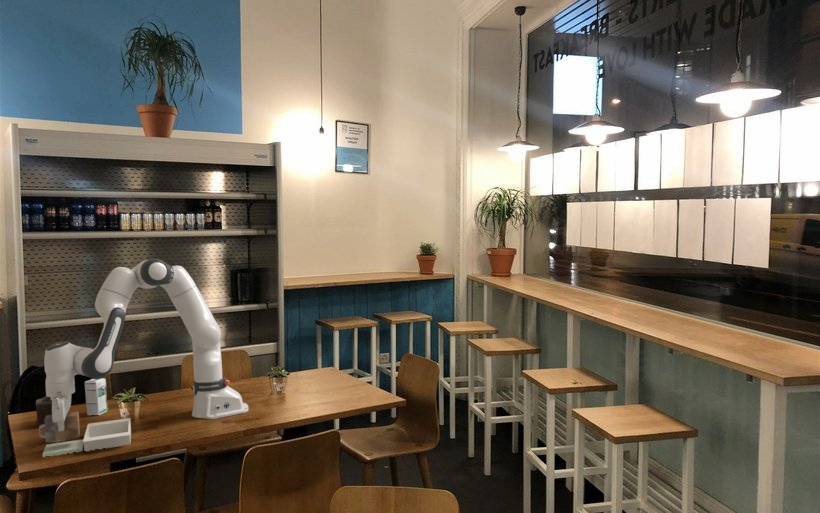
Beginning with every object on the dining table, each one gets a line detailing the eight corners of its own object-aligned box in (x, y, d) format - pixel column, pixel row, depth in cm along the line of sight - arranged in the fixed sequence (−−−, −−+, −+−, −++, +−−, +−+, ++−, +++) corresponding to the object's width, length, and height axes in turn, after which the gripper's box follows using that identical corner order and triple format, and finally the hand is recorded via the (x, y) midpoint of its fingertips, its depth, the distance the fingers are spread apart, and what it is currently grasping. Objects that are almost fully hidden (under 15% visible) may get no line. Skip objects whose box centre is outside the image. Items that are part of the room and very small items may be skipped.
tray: (131, 429, 237) (130, 417, 237) (130, 447, 218) (129, 434, 218) (88, 435, 231) (87, 423, 231) (83, 454, 212) (83, 441, 212)
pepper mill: (69, 423, 247) (66, 379, 246) (37, 428, 241) (34, 383, 240) (68, 413, 260) (65, 371, 259) (37, 418, 255) (34, 375, 253)
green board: (84, 442, 224) (84, 439, 224) (82, 451, 215) (82, 448, 215) (46, 448, 219) (46, 444, 219) (42, 457, 210) (42, 454, 210)
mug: (71, 436, 232) (70, 418, 231) (62, 442, 225) (61, 424, 224) (44, 437, 231) (43, 419, 231) (34, 443, 225) (33, 425, 224)
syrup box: (98, 415, 255) (96, 381, 255) (86, 415, 257) (84, 381, 256) (108, 411, 261) (106, 377, 260) (95, 411, 262) (94, 377, 261)
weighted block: (79, 433, 221) (78, 411, 221) (78, 437, 217) (77, 415, 216) (47, 437, 217) (46, 415, 217) (45, 442, 213) (44, 419, 212)
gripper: (67, 395, 208) (69, 435, 209) (73, 381, 227) (75, 418, 227) (45, 397, 205) (48, 438, 206) (53, 383, 224) (56, 420, 225)
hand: (62, 427), depth 217 cm, fingers closed on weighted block, 5 cm apart
